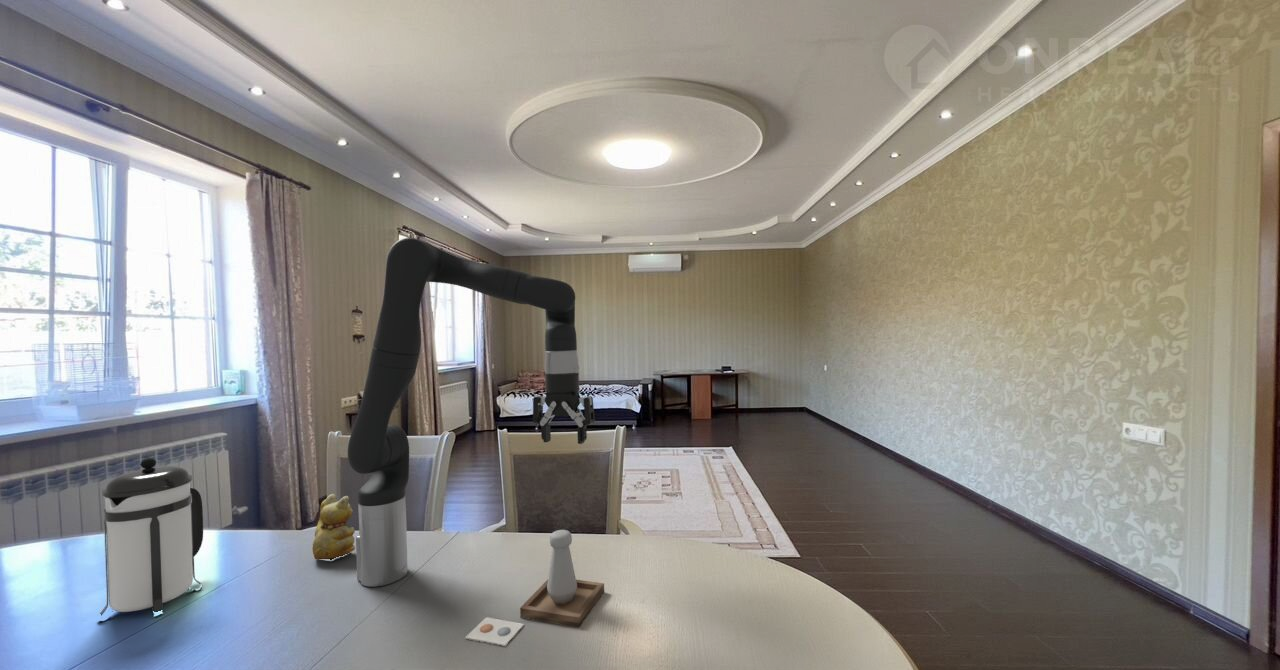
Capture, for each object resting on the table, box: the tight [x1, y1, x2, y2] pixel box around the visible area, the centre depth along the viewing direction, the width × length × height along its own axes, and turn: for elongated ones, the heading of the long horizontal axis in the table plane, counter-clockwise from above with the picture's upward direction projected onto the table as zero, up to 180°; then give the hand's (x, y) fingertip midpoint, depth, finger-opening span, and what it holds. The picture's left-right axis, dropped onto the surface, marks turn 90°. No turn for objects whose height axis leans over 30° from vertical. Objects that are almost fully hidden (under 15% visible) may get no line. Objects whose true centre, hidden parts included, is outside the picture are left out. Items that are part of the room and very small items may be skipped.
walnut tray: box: [519, 579, 605, 628], centre depth 93 cm, size 12×12×2 cm
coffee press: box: [99, 457, 204, 616], centre depth 99 cm, size 17×16×30 cm
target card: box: [464, 617, 525, 647], centre depth 85 cm, size 8×6×1 cm
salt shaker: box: [547, 529, 577, 605], centre depth 93 cm, size 6×6×13 cm
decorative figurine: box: [312, 493, 356, 561], centre depth 116 cm, size 10×8×15 cm
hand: (564, 442), depth 108 cm, fingers open, 8 cm apart
